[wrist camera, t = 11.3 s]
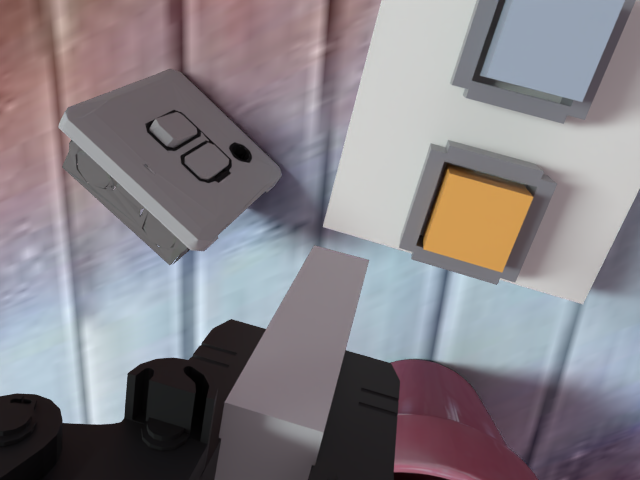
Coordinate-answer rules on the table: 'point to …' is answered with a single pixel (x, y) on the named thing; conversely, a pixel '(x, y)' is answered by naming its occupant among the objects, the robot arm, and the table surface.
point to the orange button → (476, 217)
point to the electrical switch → (166, 162)
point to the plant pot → (447, 429)
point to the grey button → (551, 44)
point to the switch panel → (489, 143)
